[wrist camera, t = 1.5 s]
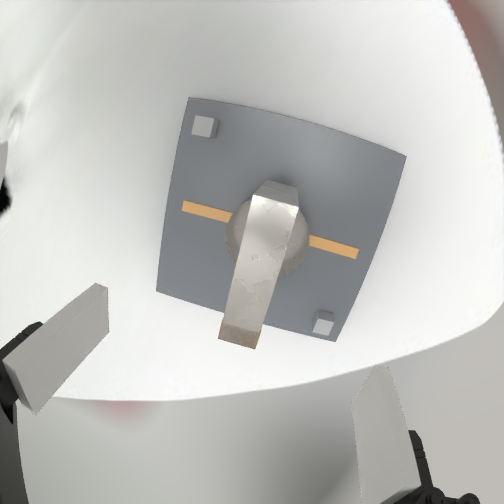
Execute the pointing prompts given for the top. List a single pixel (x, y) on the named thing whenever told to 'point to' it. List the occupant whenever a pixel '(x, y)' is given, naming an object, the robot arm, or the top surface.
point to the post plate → (309, 199)
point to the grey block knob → (261, 257)
